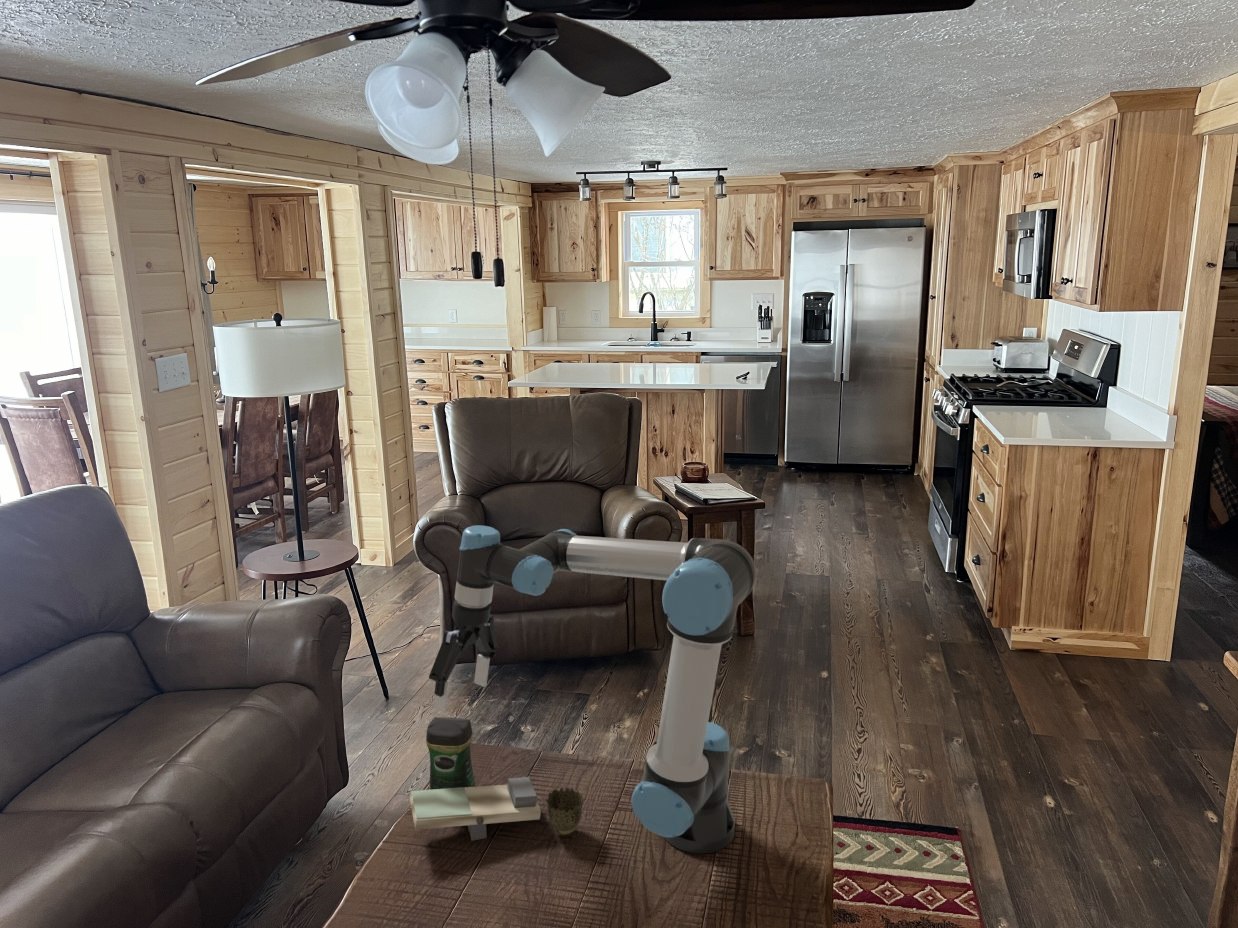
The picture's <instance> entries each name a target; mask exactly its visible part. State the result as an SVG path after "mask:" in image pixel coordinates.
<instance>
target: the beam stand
mask: <svg viewBox="0 0 1238 928" xmlns="http://www.w3.org/2000/svg"><path fill="white" fill-rule="evenodd" d="M466 826H467V829H468V833H469V836H470V840H471V842H474V841H477V840H481V839H487V824H480V825H479V824H477V825H466Z"/></svg>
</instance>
